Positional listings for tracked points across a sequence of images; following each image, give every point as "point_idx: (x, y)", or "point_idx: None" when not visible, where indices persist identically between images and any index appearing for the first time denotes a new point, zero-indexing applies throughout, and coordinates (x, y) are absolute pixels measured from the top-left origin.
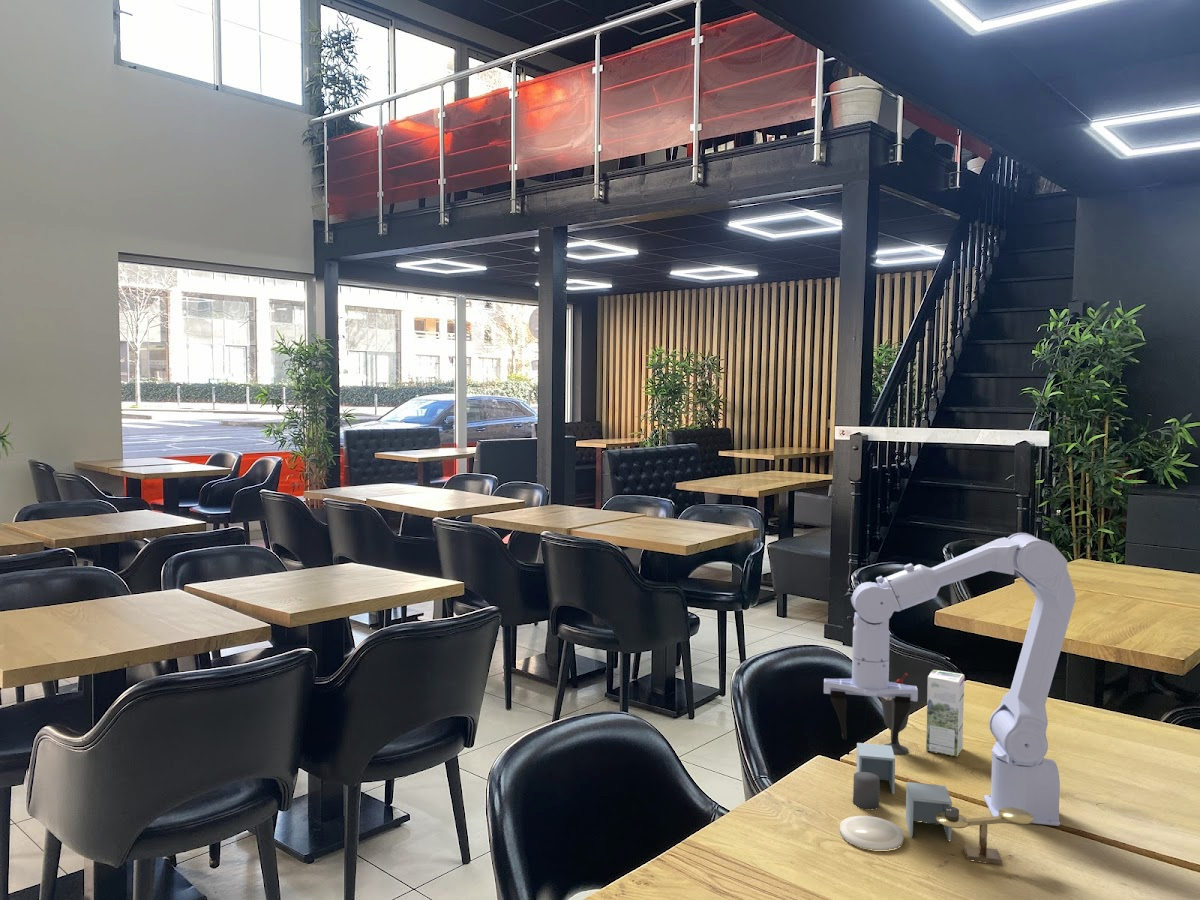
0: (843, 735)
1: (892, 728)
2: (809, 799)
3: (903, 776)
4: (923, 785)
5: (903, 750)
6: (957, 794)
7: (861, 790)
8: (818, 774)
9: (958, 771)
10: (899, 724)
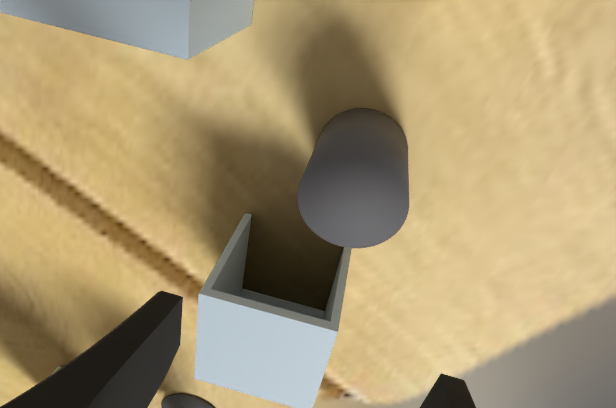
0: (468, 398)
1: (134, 387)
2: (566, 193)
3: (196, 304)
4: (106, 14)
5: (172, 405)
6: (66, 201)
7: (391, 147)
8: (441, 339)
9: (60, 312)
10: (51, 388)
